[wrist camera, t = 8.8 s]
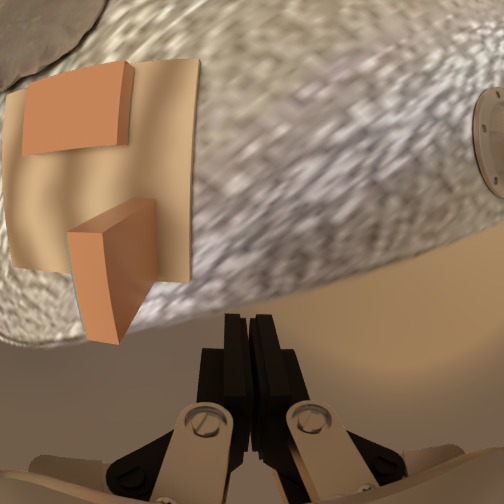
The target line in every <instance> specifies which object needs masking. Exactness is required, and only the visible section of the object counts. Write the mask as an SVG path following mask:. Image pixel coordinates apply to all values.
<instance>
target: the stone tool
mask: <svg viewBox="0 0 504 504" xmlns="http://www.w3.org/2000/svg"><path fill="white" fill-rule="evenodd" d="M106 1H107V0H0V92H5V91H6V90H7V89H8V88H9V87H10V86H12V85H13V84H15V83H16V82H17V81H18V80H19V79H20V78H22V77H24V76H28V75H31V74H36V73H38V72H40V71H41V70H43V69H44V68H45V67H47V66H48V65H49V64H51V63H53V62H54V61H56V60H58V59H59V58H60V57H61V56H62V55H64V54H66V53H68V52H69V51H71V50H72V49H73V48H74V47H76V46H77V45H78V43H79V42H80V40H81V38H82V37H83V35H84V34H85V33H86V32H87V31H88V30H90V29H91V27H92V26H93V24H94V23H95V21H96V20H97V18H98V17H99V15H100V14H101V13H102V11H103V9H104V6H105V3H106Z"/></svg>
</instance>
